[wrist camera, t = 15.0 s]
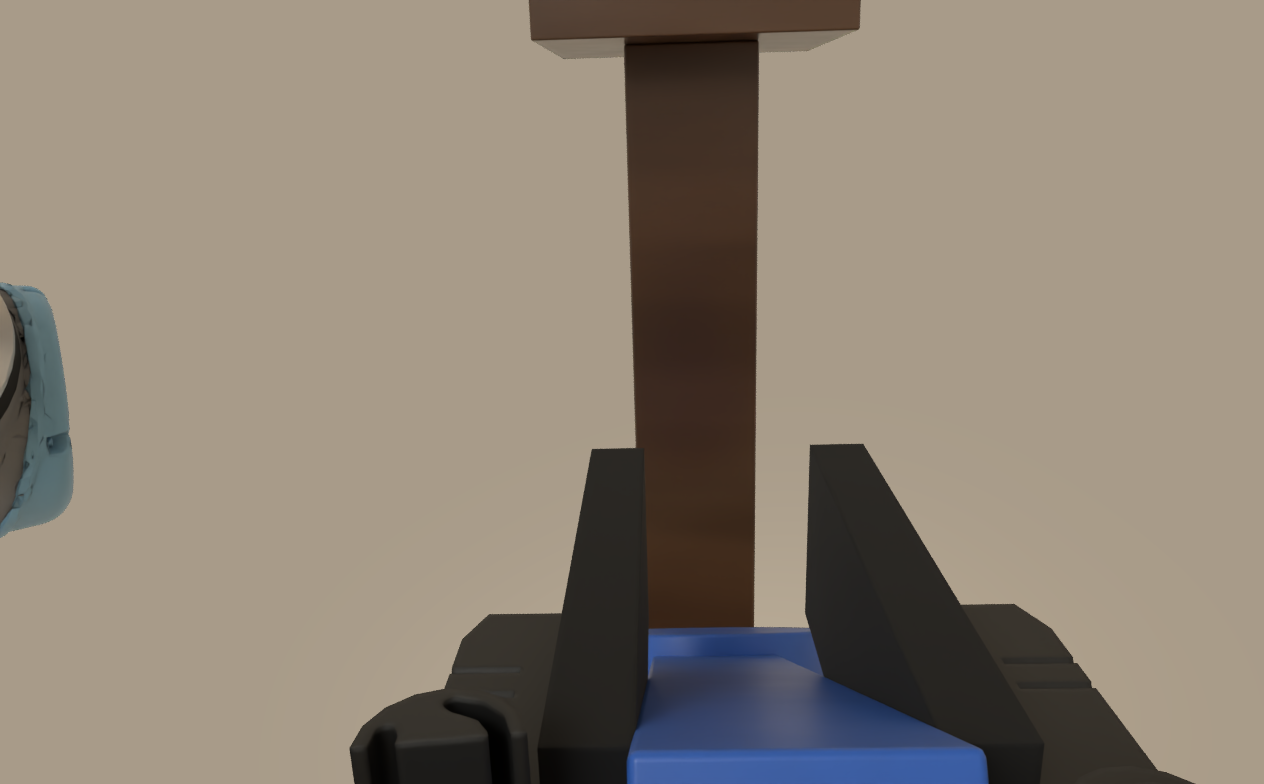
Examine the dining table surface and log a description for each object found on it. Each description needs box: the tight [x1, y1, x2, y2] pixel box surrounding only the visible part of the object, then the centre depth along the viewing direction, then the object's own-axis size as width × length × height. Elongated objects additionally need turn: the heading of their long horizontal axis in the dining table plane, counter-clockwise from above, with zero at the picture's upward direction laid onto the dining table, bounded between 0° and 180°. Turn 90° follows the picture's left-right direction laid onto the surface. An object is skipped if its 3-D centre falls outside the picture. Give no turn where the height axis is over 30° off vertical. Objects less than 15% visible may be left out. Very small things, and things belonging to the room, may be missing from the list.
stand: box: [529, 0, 861, 629], centre depth 31 cm, size 8×8×31 cm
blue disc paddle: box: [627, 627, 989, 784], centre depth 14 cm, size 16×5×2 cm, turn 178°
